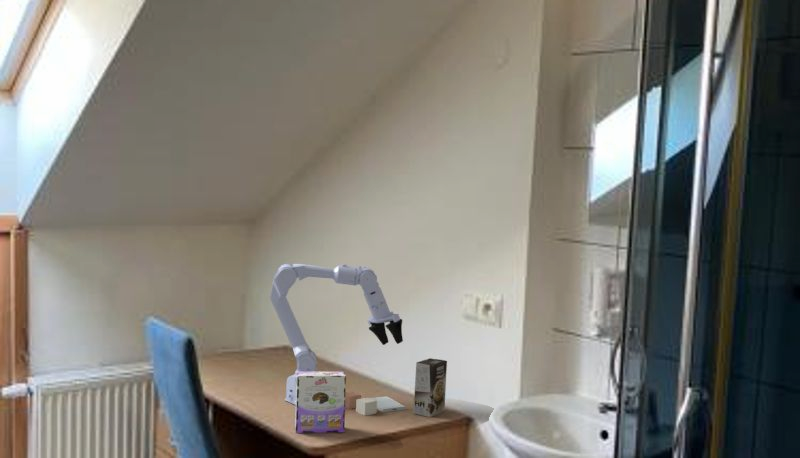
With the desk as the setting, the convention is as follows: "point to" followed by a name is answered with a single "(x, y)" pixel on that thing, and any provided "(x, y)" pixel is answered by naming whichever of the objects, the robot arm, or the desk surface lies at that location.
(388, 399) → the hard drive
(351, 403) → the brown block
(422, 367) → the coffee box
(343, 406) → the candy box
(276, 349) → the desk surface
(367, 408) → the cream block
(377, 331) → the robot arm
